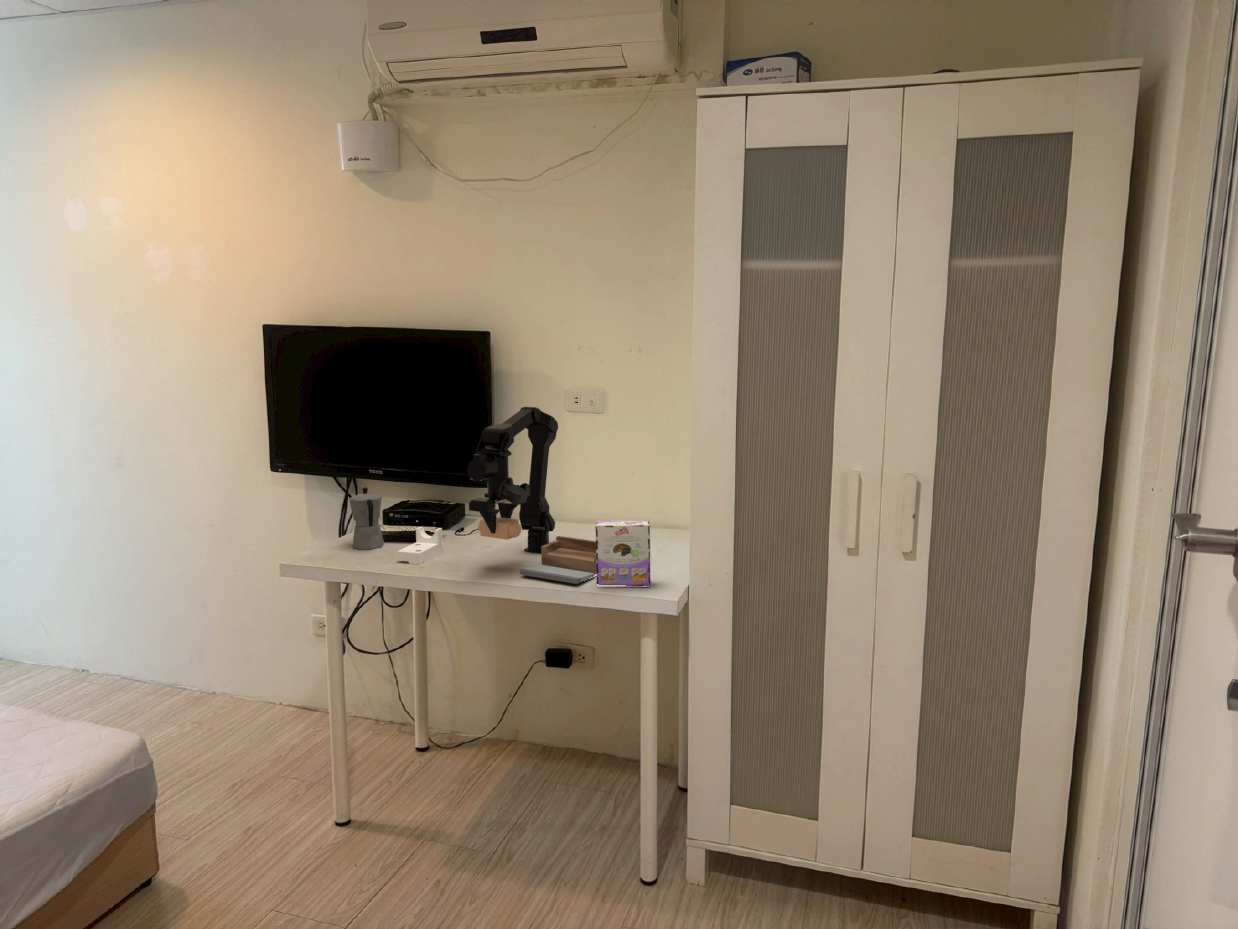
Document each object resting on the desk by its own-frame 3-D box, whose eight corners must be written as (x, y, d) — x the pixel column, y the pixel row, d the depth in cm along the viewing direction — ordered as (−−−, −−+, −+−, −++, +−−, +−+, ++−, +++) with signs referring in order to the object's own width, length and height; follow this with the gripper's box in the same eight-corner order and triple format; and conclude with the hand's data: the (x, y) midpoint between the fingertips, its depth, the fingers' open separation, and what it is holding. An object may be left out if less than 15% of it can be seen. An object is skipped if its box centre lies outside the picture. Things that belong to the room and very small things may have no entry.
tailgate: (539, 564, 239) (519, 569, 231) (594, 573, 230) (576, 579, 223) (539, 568, 239) (519, 574, 231) (594, 577, 230) (576, 584, 223)
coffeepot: (348, 543, 268) (345, 485, 265) (380, 539, 272) (376, 482, 269) (357, 555, 254) (353, 494, 251) (390, 551, 258) (386, 491, 255)
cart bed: (558, 560, 248) (558, 535, 247) (614, 568, 239) (614, 543, 238) (541, 567, 240) (541, 542, 239) (598, 576, 232) (598, 551, 230)
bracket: (421, 551, 259) (420, 526, 257) (443, 553, 256) (442, 528, 255) (397, 563, 246) (396, 537, 245) (420, 565, 244) (419, 539, 243)
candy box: (650, 581, 228) (650, 519, 225) (650, 588, 222) (650, 524, 219) (597, 581, 228) (596, 519, 226) (595, 588, 223) (595, 524, 220)
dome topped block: (485, 530, 243) (485, 515, 242) (525, 536, 237) (525, 520, 236) (474, 534, 239) (473, 519, 238) (514, 540, 232) (513, 524, 231)
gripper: (500, 483, 223) (502, 542, 225) (542, 471, 239) (543, 527, 241) (466, 479, 228) (468, 537, 231) (509, 468, 244) (511, 522, 247)
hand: (499, 531), depth 237 cm, fingers closed on dome topped block, 5 cm apart
